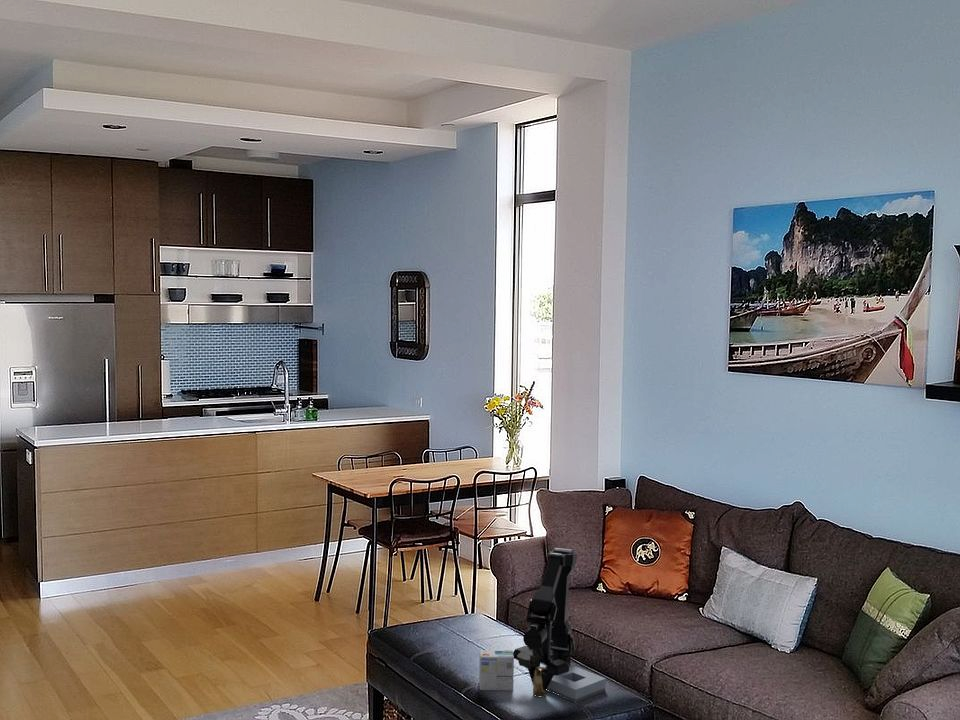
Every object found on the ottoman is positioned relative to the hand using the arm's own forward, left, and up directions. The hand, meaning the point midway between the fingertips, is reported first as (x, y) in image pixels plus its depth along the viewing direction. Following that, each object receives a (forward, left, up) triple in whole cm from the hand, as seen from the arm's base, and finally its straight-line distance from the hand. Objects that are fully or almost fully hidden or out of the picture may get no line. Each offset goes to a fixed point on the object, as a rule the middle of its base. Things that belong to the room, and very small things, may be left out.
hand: (539, 687), depth 316 cm
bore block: (+4, +11, -2) cm, 12 cm away
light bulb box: (-13, -6, -2) cm, 15 cm away
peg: (0, 0, -2) cm, 2 cm away
